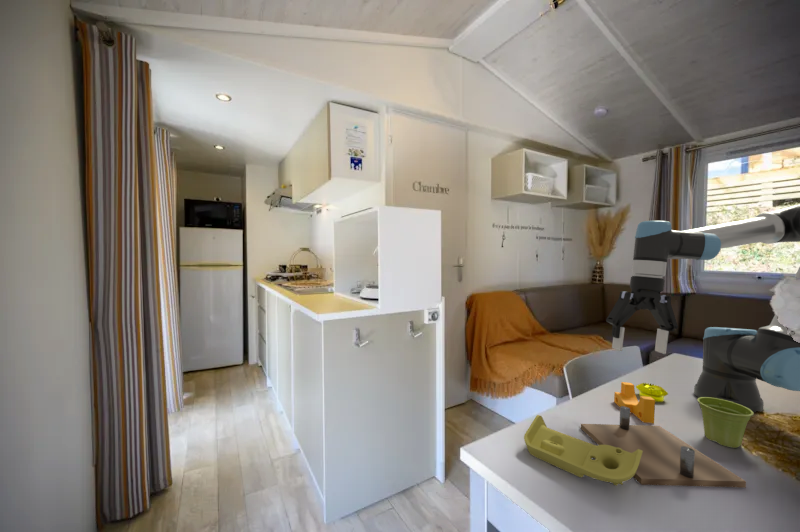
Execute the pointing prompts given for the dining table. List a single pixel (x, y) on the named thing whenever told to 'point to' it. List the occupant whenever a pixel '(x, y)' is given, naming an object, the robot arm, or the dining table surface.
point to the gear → (652, 391)
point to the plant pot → (724, 420)
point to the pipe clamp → (635, 403)
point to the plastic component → (580, 454)
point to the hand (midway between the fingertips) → (638, 351)
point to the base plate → (662, 456)
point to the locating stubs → (686, 452)
